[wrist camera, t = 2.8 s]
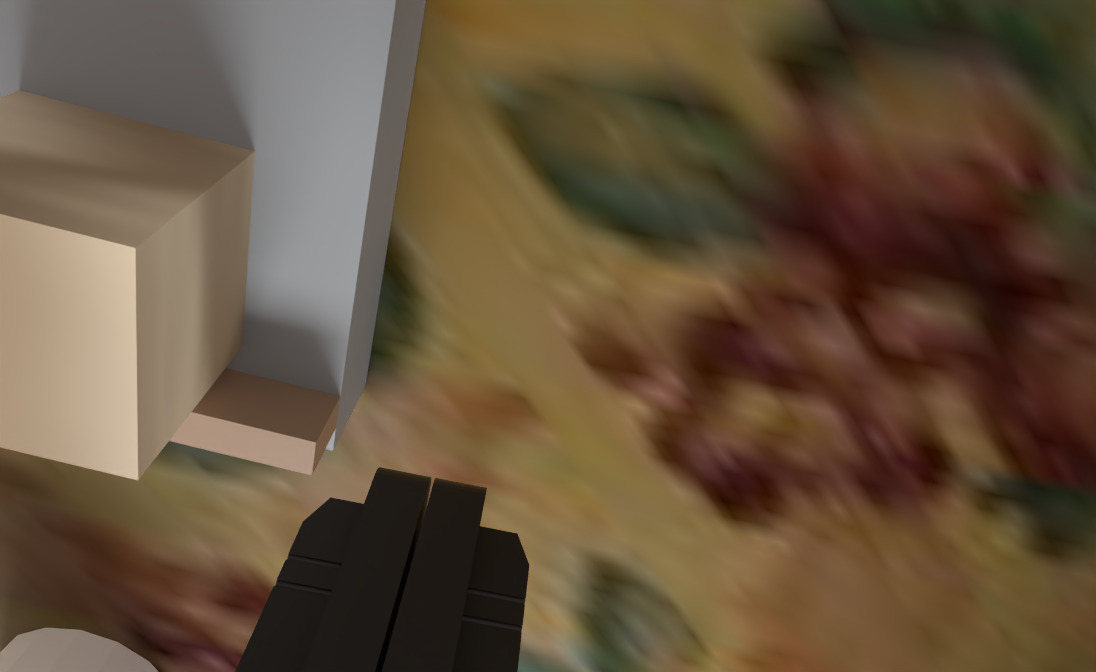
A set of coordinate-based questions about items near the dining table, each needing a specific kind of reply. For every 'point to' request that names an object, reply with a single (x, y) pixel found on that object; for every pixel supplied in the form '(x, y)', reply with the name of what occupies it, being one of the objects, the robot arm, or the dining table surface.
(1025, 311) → the dining table surface
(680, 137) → the dining table surface
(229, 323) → the birch block
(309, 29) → the trap box
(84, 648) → the beige cylinder
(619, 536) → the dining table surface
